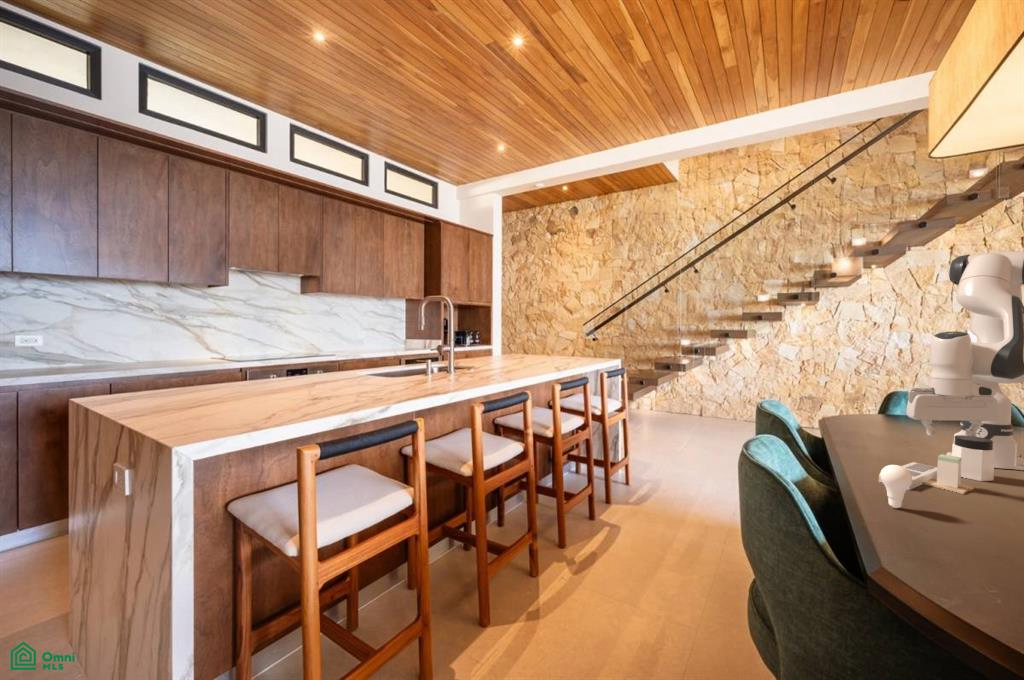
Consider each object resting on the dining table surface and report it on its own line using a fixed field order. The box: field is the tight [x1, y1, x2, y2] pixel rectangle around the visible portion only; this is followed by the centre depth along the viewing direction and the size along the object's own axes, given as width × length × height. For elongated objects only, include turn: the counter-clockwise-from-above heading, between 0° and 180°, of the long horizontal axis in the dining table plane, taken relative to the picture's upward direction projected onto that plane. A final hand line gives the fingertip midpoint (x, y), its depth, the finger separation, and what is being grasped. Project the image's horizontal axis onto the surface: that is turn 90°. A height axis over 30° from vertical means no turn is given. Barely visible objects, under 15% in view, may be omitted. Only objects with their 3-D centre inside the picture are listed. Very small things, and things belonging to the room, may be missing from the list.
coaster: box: [922, 477, 976, 495], centre depth 125 cm, size 9×9×1 cm
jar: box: [951, 435, 995, 482], centre depth 133 cm, size 9×8×12 cm
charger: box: [936, 453, 962, 488], centre depth 125 cm, size 4×4×8 cm
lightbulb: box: [879, 464, 912, 509], centre depth 109 cm, size 6×6×11 cm
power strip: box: [878, 461, 938, 491], centre depth 132 cm, size 29×7×3 cm, turn 119°
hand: (951, 435), depth 124 cm, fingers open, 8 cm apart
